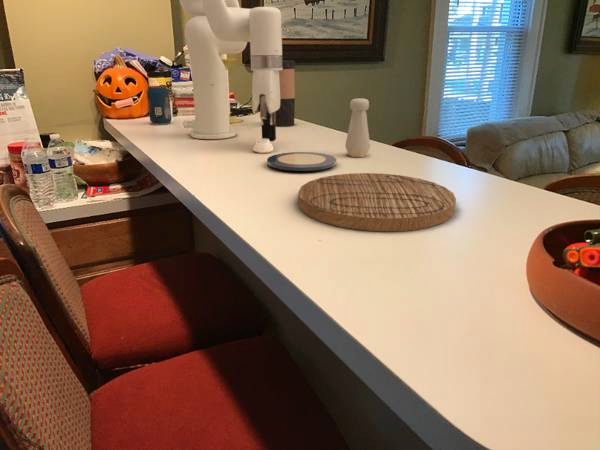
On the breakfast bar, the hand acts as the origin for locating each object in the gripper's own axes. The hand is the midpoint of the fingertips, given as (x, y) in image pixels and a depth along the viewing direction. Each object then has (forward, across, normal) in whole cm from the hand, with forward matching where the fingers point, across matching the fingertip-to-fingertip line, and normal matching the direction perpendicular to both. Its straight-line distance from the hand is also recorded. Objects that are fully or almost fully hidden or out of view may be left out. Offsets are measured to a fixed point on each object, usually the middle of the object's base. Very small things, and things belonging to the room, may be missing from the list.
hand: (269, 140), depth 119 cm
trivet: (+3, +41, +28) cm, 50 cm away
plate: (+2, +17, +12) cm, 20 cm away
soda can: (+2, -33, -46) cm, 57 cm away
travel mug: (+2, -38, -5) cm, 38 cm away
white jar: (+2, +5, 0) cm, 5 cm away
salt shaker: (+2, +5, +23) cm, 23 cm away
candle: (+2, -42, -26) cm, 49 cm away
